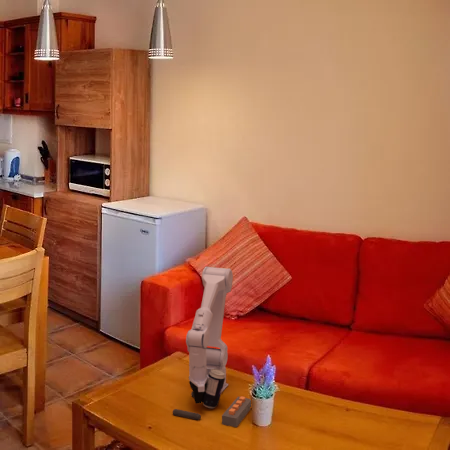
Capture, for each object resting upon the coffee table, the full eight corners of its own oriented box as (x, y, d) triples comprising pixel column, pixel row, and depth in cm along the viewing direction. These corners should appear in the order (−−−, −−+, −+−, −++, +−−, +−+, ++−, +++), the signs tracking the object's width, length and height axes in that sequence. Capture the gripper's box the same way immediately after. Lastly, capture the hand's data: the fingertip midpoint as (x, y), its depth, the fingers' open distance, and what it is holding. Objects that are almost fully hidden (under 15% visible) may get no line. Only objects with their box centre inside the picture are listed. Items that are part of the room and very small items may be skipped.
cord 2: (192, 394, 216) (192, 389, 215) (218, 400, 212) (218, 394, 212) (190, 397, 214) (190, 392, 214) (216, 402, 210) (216, 397, 210)
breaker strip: (237, 404, 208) (238, 393, 208) (251, 407, 206) (251, 395, 206) (221, 424, 196) (221, 412, 195) (236, 427, 194) (236, 415, 193)
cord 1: (174, 413, 203) (174, 407, 203) (201, 418, 199) (201, 413, 199) (171, 415, 201) (171, 410, 201) (199, 421, 198) (199, 415, 197)
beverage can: (218, 410, 204) (227, 376, 203) (202, 407, 203) (211, 373, 202) (215, 402, 210) (224, 370, 208) (199, 400, 209) (208, 367, 207)
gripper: (213, 372, 197) (213, 411, 200) (206, 354, 211) (206, 391, 214) (191, 374, 196) (192, 413, 198) (185, 356, 210) (186, 393, 212)
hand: (198, 402), depth 206 cm, fingers closed, pressing on beverage can
